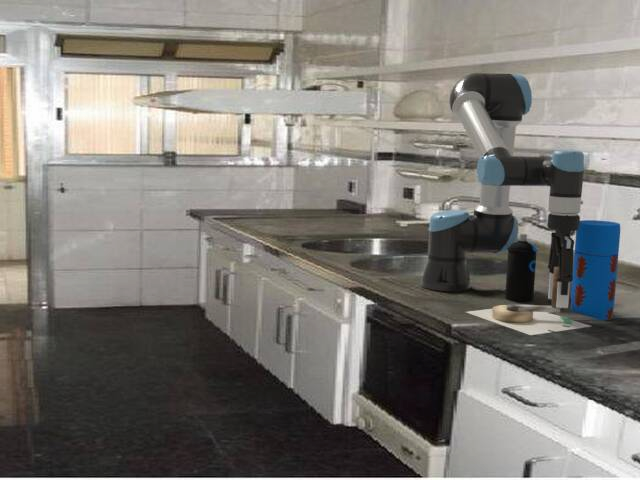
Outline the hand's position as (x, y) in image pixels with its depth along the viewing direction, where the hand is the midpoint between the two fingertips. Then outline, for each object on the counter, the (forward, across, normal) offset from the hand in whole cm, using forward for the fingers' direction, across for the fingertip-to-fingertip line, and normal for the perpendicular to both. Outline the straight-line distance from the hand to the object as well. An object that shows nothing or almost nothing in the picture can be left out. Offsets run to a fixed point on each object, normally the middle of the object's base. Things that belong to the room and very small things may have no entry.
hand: (557, 302), depth 195 cm
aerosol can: (+6, +23, +6) cm, 24 cm away
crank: (+4, 0, +7) cm, 8 cm away
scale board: (+6, 0, +7) cm, 9 cm away
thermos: (+6, +12, -12) cm, 18 cm away
